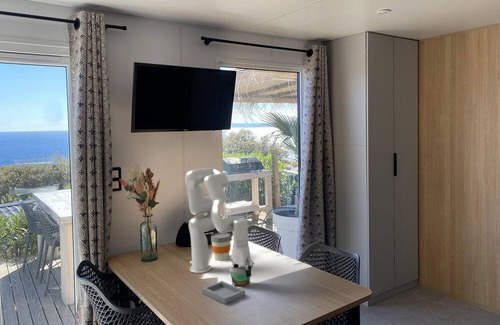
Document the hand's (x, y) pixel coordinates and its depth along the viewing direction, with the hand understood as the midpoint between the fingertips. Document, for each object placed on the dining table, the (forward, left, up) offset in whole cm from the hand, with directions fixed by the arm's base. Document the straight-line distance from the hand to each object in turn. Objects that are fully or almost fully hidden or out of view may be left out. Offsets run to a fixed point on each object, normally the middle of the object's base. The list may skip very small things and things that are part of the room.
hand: (242, 274), depth 214 cm
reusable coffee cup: (-42, +20, -6) cm, 47 cm away
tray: (+2, -15, -6) cm, 16 cm away
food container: (0, 0, -6) cm, 6 cm away
